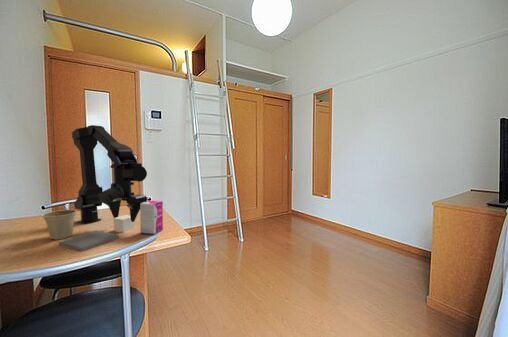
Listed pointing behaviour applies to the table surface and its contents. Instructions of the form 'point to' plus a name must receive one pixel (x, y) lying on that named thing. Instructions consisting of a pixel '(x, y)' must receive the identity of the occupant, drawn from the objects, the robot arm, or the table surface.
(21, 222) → the table surface
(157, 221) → the supplement box
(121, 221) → the off-white cube
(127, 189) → the robot arm
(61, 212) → the flower pot
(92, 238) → the gray mat
